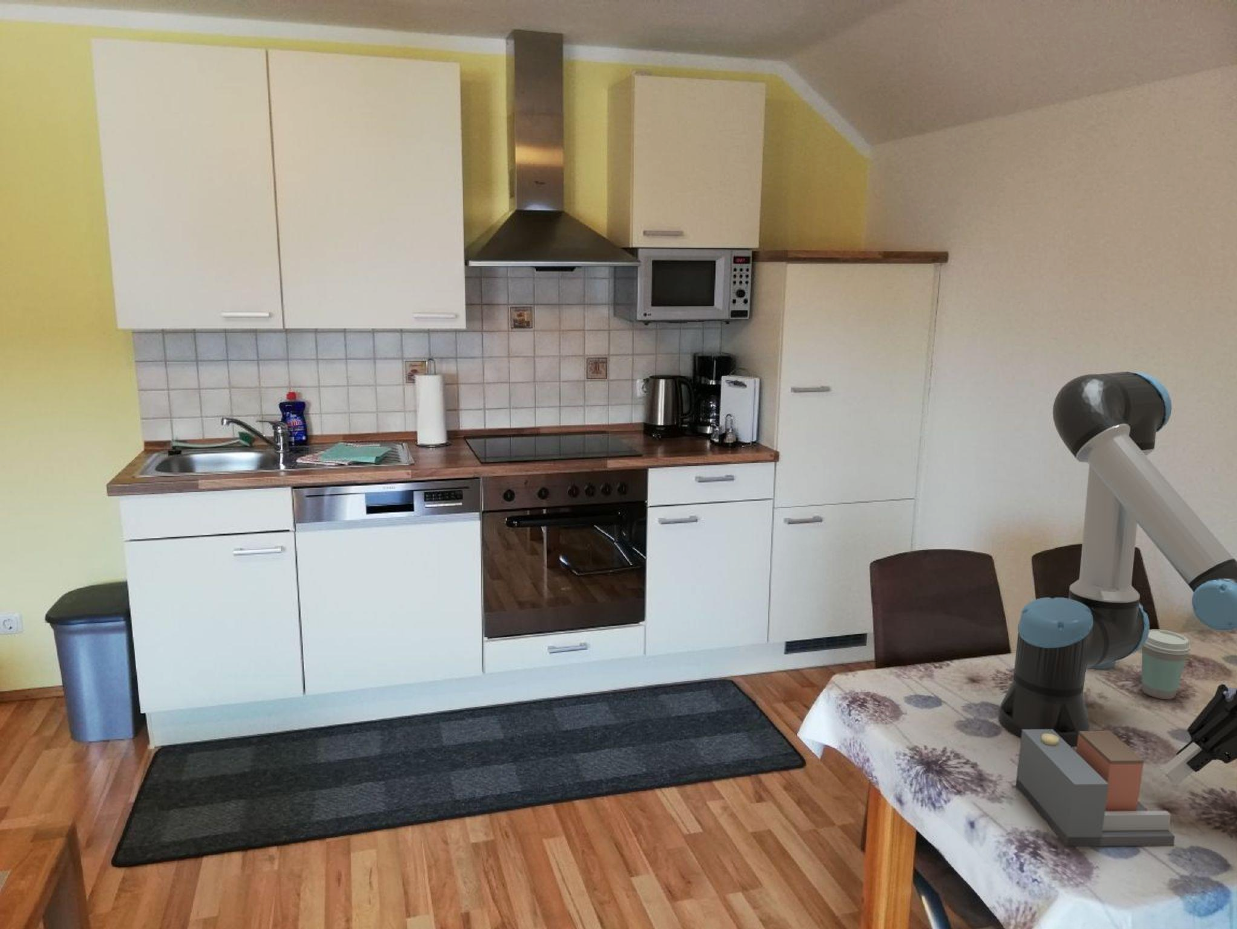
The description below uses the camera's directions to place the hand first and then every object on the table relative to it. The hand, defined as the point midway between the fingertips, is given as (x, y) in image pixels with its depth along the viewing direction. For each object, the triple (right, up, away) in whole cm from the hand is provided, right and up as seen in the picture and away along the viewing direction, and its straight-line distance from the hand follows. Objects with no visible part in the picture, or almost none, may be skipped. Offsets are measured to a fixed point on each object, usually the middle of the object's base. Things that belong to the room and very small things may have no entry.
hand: (1168, 777), depth 140 cm
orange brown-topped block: (-10, -4, 0) cm, 11 cm away
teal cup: (+18, +5, +57) cm, 60 cm away
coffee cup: (+24, +2, +42) cm, 49 cm away
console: (-12, -6, +1) cm, 13 cm away
